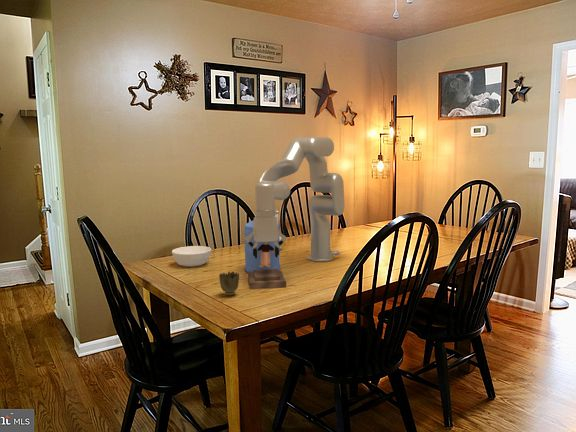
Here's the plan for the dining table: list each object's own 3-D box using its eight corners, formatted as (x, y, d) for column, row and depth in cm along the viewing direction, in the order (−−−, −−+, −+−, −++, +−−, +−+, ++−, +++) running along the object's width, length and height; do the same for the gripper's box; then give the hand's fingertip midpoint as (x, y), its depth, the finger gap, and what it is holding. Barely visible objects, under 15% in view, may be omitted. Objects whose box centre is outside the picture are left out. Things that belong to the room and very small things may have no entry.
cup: (222, 299, 165) (221, 277, 163) (217, 293, 171) (216, 273, 170) (242, 296, 168) (241, 275, 166) (236, 291, 174) (235, 270, 173)
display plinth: (281, 276, 194) (281, 267, 193) (286, 287, 178) (286, 277, 178) (248, 278, 192) (248, 268, 191) (250, 289, 176) (250, 279, 176)
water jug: (281, 274, 197) (280, 210, 193) (244, 275, 196) (243, 210, 192) (279, 265, 212) (278, 206, 208) (245, 266, 211) (244, 206, 207)
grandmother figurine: (256, 268, 182) (256, 236, 180) (256, 265, 186) (255, 235, 184) (276, 267, 183) (275, 236, 181) (275, 265, 186) (274, 234, 185)
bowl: (193, 258, 229) (192, 244, 228) (219, 263, 218) (219, 248, 217) (164, 266, 214) (163, 251, 213) (191, 271, 204) (190, 256, 202)
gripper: (285, 212, 186) (286, 254, 189) (243, 213, 184) (244, 256, 186) (288, 214, 179) (288, 258, 181) (243, 215, 176) (244, 260, 179)
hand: (266, 257), depth 184 cm, fingers closed on grandmother figurine, 7 cm apart
